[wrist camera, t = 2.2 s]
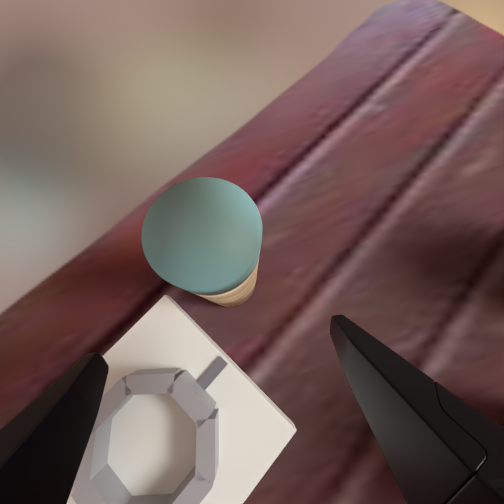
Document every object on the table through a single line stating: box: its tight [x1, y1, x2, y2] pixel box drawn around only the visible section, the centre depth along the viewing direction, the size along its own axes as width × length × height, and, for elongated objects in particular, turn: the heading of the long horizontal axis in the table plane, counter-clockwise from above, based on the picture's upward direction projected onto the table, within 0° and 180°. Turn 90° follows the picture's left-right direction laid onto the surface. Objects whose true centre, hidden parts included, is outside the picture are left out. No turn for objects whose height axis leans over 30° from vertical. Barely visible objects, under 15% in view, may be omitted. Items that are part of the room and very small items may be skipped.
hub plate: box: [67, 295, 297, 504], centre depth 16 cm, size 14×14×3 cm
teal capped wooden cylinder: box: [142, 177, 262, 307], centre depth 14 cm, size 4×4×12 cm
